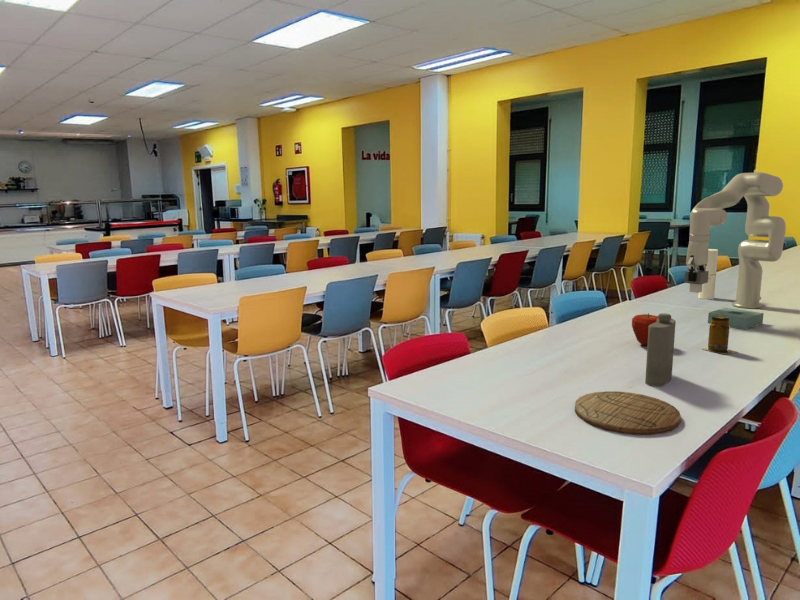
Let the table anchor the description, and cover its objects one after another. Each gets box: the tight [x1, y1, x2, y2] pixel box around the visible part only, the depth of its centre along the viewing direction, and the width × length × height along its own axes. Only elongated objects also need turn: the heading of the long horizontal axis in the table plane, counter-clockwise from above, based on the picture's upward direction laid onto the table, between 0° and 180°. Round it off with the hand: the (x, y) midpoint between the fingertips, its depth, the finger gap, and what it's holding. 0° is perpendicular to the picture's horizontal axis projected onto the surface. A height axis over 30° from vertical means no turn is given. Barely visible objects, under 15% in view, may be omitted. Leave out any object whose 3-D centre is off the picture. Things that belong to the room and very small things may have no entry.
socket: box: [707, 307, 764, 330], centre depth 235 cm, size 15×15×4 cm
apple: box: [631, 313, 658, 346], centre depth 205 cm, size 11×11×12 cm
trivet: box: [574, 390, 682, 436], centre depth 143 cm, size 25×25×2 cm
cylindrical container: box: [698, 248, 719, 300], centre depth 286 cm, size 7×7×25 cm
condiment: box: [702, 316, 738, 355], centre depth 196 cm, size 7×8×12 cm
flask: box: [644, 312, 677, 387], centre depth 167 cm, size 15×6×20 cm, turn 144°
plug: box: [684, 269, 709, 294], centre depth 243 cm, size 7×7×9 cm
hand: (696, 279), depth 243 cm, fingers closed on plug, 6 cm apart
